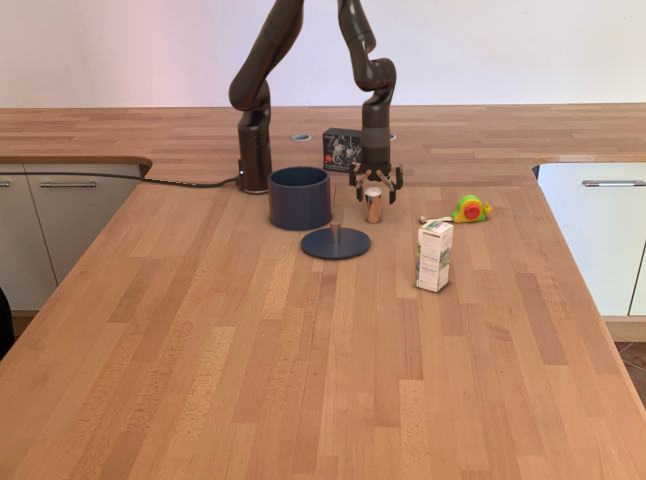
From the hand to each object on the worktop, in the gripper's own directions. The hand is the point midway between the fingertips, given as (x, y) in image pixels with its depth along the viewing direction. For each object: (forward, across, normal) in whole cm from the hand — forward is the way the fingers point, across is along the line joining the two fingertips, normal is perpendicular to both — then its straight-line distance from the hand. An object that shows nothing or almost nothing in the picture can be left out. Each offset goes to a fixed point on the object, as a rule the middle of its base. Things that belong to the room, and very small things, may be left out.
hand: (376, 202), depth 190 cm
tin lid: (+5, +5, +18) cm, 19 cm away
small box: (+5, +21, -38) cm, 44 cm away
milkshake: (+5, 0, 0) cm, 5 cm away
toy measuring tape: (+6, -21, -6) cm, 22 cm away
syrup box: (+6, -22, +32) cm, 40 cm away
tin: (+5, +20, +4) cm, 21 cm away
